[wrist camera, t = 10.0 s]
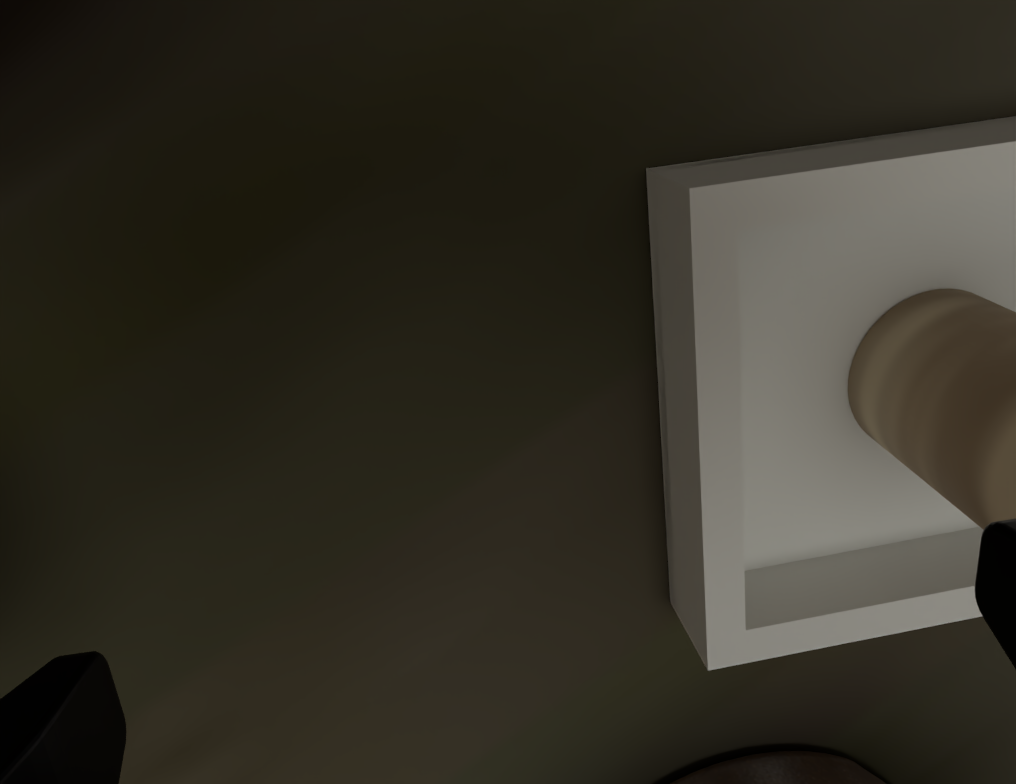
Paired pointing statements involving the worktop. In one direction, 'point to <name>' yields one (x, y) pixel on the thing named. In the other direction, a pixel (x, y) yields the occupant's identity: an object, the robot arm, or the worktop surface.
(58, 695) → the robot arm
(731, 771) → the plant pot
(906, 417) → the pepper mill
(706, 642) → the bin
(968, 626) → the worktop surface
